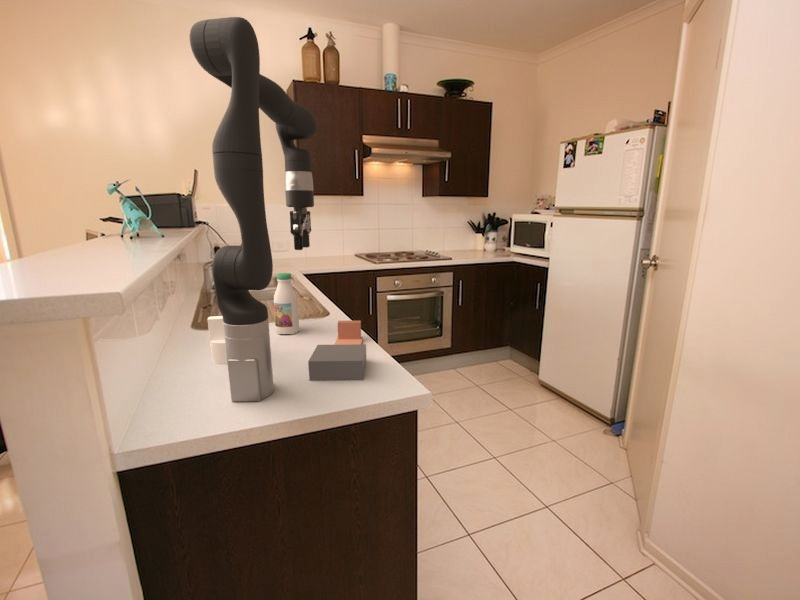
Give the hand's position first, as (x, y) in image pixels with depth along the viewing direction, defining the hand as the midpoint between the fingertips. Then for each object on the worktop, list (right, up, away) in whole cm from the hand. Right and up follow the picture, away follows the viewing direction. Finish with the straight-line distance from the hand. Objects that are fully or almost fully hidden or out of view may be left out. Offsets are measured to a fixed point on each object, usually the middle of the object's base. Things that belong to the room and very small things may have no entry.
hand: (302, 248), depth 115 cm
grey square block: (+12, -33, -10) cm, 36 cm away
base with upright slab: (-20, -31, -1) cm, 37 cm away
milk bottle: (-10, -26, +22) cm, 35 cm away
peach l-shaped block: (+12, -29, +4) cm, 32 cm away
